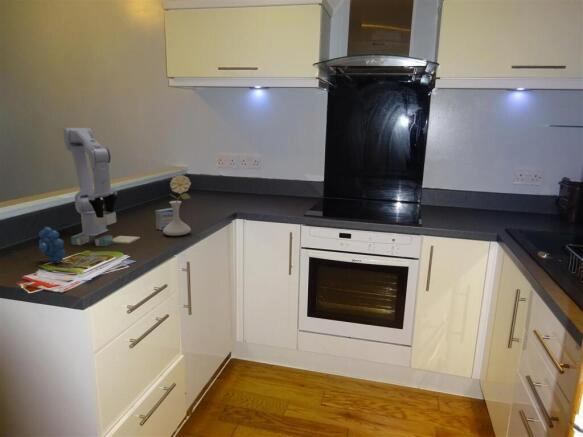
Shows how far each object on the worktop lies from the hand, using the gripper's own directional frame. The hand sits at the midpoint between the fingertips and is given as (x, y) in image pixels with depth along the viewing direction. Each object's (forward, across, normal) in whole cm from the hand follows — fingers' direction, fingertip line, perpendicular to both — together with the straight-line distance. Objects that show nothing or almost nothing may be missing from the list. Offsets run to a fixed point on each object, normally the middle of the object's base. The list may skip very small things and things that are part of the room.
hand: (104, 215), depth 164 cm
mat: (+10, +4, -5) cm, 12 cm away
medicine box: (+11, +26, -11) cm, 30 cm away
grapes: (+11, -27, +2) cm, 29 cm away
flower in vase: (+11, +17, -22) cm, 30 cm away
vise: (+10, -3, +4) cm, 12 cm away
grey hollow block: (+3, 0, 0) cm, 3 cm away
